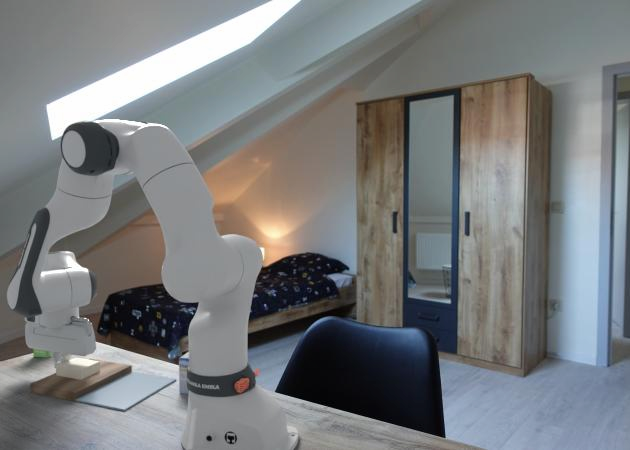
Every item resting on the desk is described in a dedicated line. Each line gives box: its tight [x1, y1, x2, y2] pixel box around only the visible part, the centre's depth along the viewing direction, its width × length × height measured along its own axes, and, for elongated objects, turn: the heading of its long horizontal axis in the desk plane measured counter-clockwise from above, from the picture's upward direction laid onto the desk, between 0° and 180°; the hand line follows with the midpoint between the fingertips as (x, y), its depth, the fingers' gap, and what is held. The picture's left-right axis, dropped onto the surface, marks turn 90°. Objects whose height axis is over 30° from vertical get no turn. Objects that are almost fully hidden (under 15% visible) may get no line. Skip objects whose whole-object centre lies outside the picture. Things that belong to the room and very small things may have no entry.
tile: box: [55, 357, 100, 380], centre depth 119 cm, size 8×6×2 cm
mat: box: [74, 370, 177, 412], centre depth 114 cm, size 14×18×1 cm
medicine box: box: [178, 351, 189, 395], centre depth 115 cm, size 8×4×9 cm, turn 168°
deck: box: [29, 358, 133, 402], centre depth 119 cm, size 14×18×2 cm
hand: (61, 368), depth 121 cm, fingers closed
